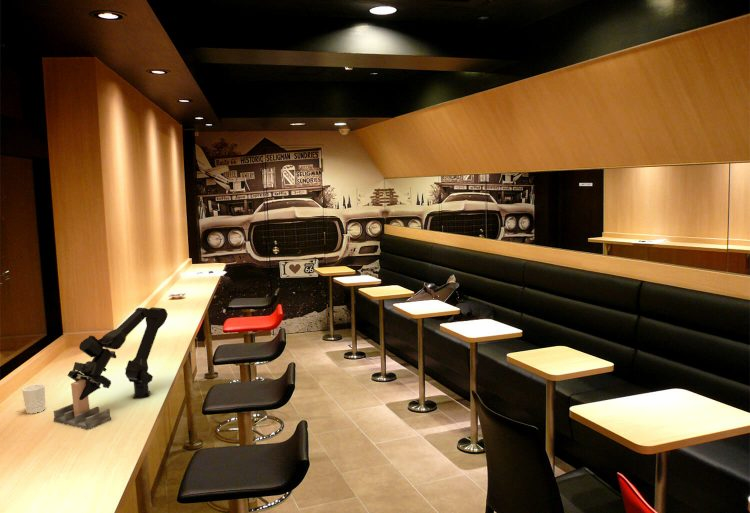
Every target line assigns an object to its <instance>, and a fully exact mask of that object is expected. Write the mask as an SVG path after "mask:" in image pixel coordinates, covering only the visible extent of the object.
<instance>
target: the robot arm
mask: <svg viewBox="0 0 750 513" xmlns="http://www.w3.org/2000/svg"><path fill="white" fill-rule="evenodd" d="M168 316H169V315H168V312H167V309H166V308H164V307H154V306H153V307H150V308H146V307H137V308H136V309H135V310H134V312H133V313H132V314H131V315H130V316H128V317H127V318H126V319H125V320H124V321H123V322H122V323H121V324H120V325H119V326H118V327H117V328H115V329H113V330H110V331H109V332H107V333H105V334H104V335H103V336H102V337H101V338H99V339H97V338H96V336H95V335H88V337H87V338H85V339H84V340H82V341H81V342H80V344H79V346H78V347H79V350H80V351H81V352H83V353H84V354H86V355H87V356H88V357H90V358H92V360H89V361H86V362H85V363H83V362H74V365H73V367H72V370H69V372H68V374H67V376H68V378H70V379H72V380H74V382H76V381H79V380H86V386H85V388H84V390H83V392H82V394H81V396H80V398H79V399H80V400H83V399H84V398H85V397H87V396H88V397H89V396H90V395H91V394H93V393H95V391H97V390H100V389H101V385H102V387H103V388H106V389H109V388H110V387H111V385H112V381H111V380H110V379H109V378H107V377H106V376H104V375H102V373H103V372H106V371H107V370H108V369H107V368H106V367H107V365H108V364H109V361H110V360H111V358H112V359H117V355H116V351H114V350H119V349H120V348H121V347H122V346H123V344H125V342H126V339H127V336H128V335H129V334H130V333H131V332H132V331H133V330H134V329H135V328H136V327H137V326H138V325H139V324H140V323H142V321H143V320H145V323H146V327H145V330H144V333H143V336H142V337H141V341H140V343H139V347H138V348H137V352H136V355H135V357H134V358H133V359H132V360H130V359H129V360H128V361H127V365H126V367H125V369H124V370H125V373H124V375H125V376H126V378H127V380H128V381H129V383H133V391H134V393H133V396H132V398H133V399H139V398H140V399H141V398H148V397H150V396H151V395H150V394H151V390H149V384H150V383H151V382H152V381H153V378H154V376H153V375H152V374H151V373H149V372H148V370H149V366H148V364H149V363H148V359H149V357H150V354H151V350H152V348H153V346H154V342H155V339H156V336H157V333H158V330H159V329H160V328H161V327H162V326H163V325H164V324H165V323H166V320H167V318H168ZM110 349H111V350H110Z"/></svg>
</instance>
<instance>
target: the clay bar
mask: <svg viewBox="0 0 750 513" xmlns="http://www.w3.org/2000/svg"><path fill="white" fill-rule="evenodd" d="M70 386H71V387H70V388H71V397H72V404H73V407H74V416H76V415H78V414H80V413H83V412H85V411H88V410H90V399H89V395H88V396H87V397H85V398H84V399H83V400H80V399H79V398H80V396H81V394H82V392H83V390H84V388H85V386H86V380H79V381H74V382H71V383H70Z"/></svg>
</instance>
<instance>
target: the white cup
mask: <svg viewBox="0 0 750 513" xmlns="http://www.w3.org/2000/svg"><path fill="white" fill-rule="evenodd" d="M45 390H46V388H45V384H44V383H37V384H35V383H33V384H29V385H27V386H24V387H23V388H22V389H21V391H22V397H23V403H24V406H25V411H26V412H27V413H26V414H28V413H31V414H30V415H33V414H32V413H36V414H38V413H37V412H40V413H42V412H44V411H45V410H46V391H45ZM44 409H45V410H44ZM43 410H44V411H43ZM41 411H42V412H41Z"/></svg>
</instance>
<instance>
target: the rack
mask: <svg viewBox="0 0 750 513" xmlns="http://www.w3.org/2000/svg"><path fill="white" fill-rule="evenodd" d="M89 409H90V408H89ZM53 417H54V418H53V422H55V421H56V422H55V423H58V424H59V423H60V424H63V423H64V424H63V425H67V424H69V425H68V426H71V425H72V427H75V426H77V427H76V428H79V427H81V428H80V429H83V428H85V430H87V429H90V430H92V429H94V428H97V427H99V426H101V425H103V424H105V423H107V422H110V421H112V417H111V410H110V409H109V408H107V409H104V410H101V411H100V407H99V406H95V407H93V408H91V409H90V410H88V411H85V412H83V413H80V414H78V415H76V416H74V407H73V403H72V404H69V405H65V406H63V407H61V408H58V409H56V410H54V411H53ZM98 425H99V426H98ZM93 427H94V428H93ZM91 428H92V429H91Z"/></svg>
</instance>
